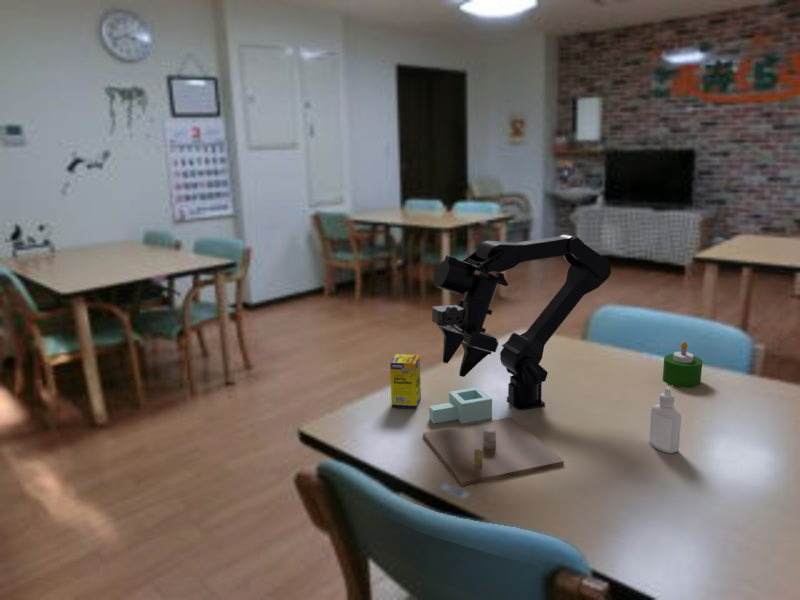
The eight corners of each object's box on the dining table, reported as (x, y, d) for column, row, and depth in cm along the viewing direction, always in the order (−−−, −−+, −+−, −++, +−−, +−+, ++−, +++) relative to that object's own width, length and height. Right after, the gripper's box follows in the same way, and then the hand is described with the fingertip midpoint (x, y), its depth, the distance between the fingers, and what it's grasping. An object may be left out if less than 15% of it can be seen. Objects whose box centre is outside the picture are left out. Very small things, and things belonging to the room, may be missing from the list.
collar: (478, 405, 138) (478, 387, 137) (491, 418, 132) (491, 398, 131) (426, 414, 135) (425, 395, 134) (437, 428, 128) (436, 408, 127)
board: (512, 420, 130) (512, 402, 129) (563, 465, 112) (564, 445, 111) (423, 436, 125) (422, 418, 124) (461, 486, 106) (461, 465, 105)
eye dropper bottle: (656, 454, 114) (660, 394, 111) (647, 440, 120) (651, 382, 117) (680, 454, 114) (685, 394, 111) (670, 440, 119) (674, 382, 116)
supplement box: (417, 409, 138) (415, 363, 135) (391, 408, 139) (389, 362, 136) (421, 398, 143) (420, 354, 141) (396, 397, 145) (394, 353, 142)
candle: (702, 378, 149) (706, 339, 146) (697, 390, 142) (701, 349, 139) (666, 372, 153) (668, 334, 150) (659, 384, 146) (662, 344, 144)
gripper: (428, 281, 135) (405, 347, 136) (462, 298, 117) (435, 374, 119) (472, 295, 138) (449, 359, 140) (510, 313, 121) (484, 387, 123)
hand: (452, 369), depth 130 cm, fingers open, 9 cm apart
